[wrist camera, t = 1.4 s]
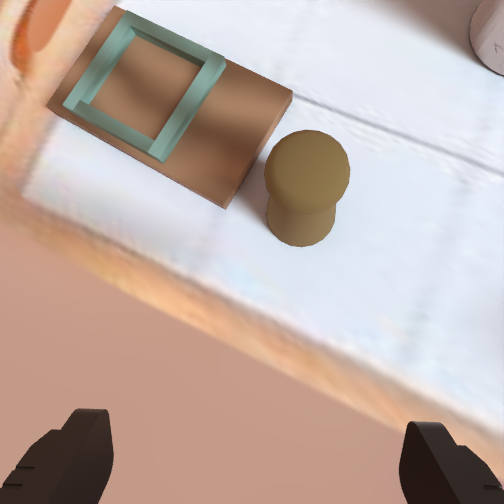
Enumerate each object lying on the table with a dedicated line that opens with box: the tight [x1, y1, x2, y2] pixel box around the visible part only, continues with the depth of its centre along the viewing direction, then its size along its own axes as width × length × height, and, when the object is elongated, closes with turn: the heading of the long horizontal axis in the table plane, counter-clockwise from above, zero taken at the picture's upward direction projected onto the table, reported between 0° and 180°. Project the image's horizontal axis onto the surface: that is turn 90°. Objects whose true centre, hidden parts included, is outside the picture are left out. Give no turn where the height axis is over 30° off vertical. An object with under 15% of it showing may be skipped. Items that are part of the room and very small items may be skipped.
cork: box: [264, 130, 350, 247], centre depth 25 cm, size 6×6×11 cm
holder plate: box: [46, 5, 293, 210], centre depth 32 cm, size 12×20×3 cm, turn 59°
